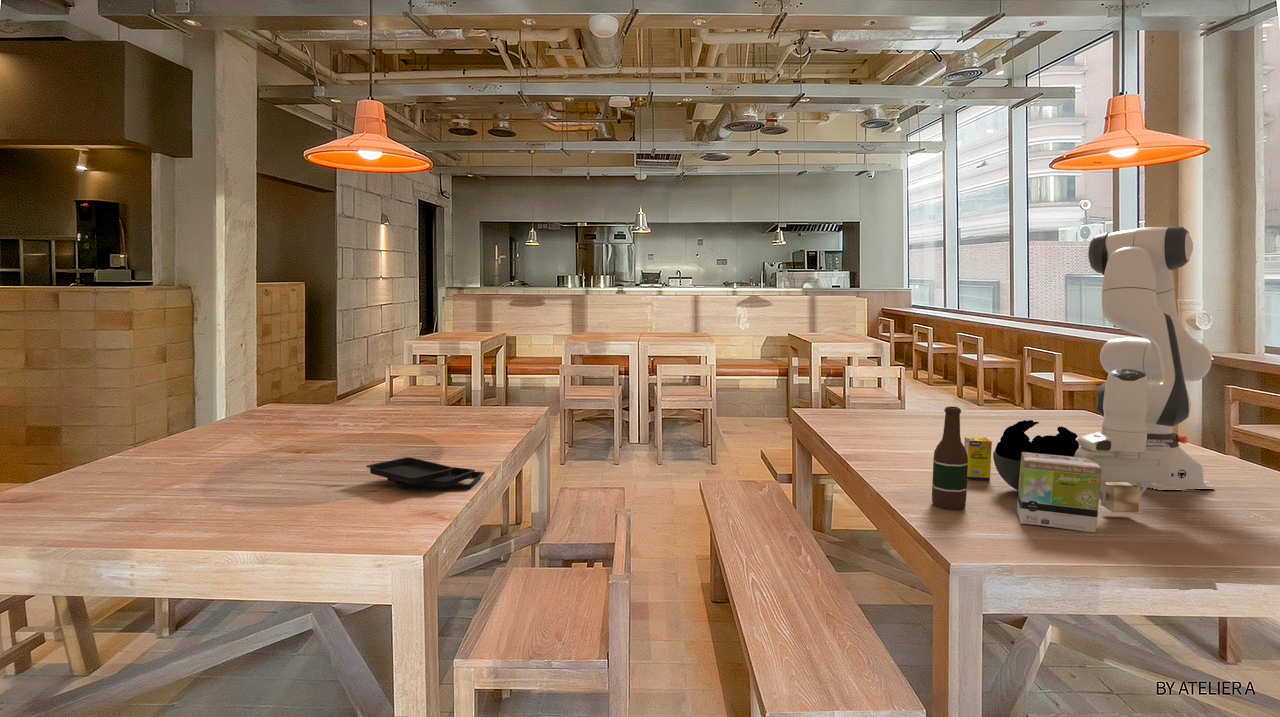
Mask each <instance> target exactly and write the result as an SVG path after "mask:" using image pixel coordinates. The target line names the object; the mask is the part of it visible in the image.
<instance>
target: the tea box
mask: <svg viewBox="0 0 1280 717" xmlns="http://www.w3.org/2000/svg"><path fill="white" fill-rule="evenodd" d="M1100 480H1101V468H1100V466H1099V465H1098V464H1097V462H1096V461H1095V459H1091V458H1080V457H1069V456H1059V455H1048V454H1037V453H1027V452H1022V454H1021V464H1020V477H1019V491H1018V490H1017V493H1018V494H1017V508H1016V512H1017V516H1018V519H1019V523H1020V525H1031V526H1040V527H1041V526H1042V527H1048V528H1049V527H1050V528H1056V529H1064V530H1071V531H1079V532H1084V533H1090V532H1095V533H1096V531H1097V525H1098V514H1099V503H1100V502H1099V501H1100V499H1099V491H1100Z"/></svg>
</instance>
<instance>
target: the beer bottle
mask: <svg viewBox="0 0 1280 717" xmlns="http://www.w3.org/2000/svg"><path fill="white" fill-rule="evenodd" d="M944 412H945V416H944V424H943V432H942V438H941V440H939V443H937V445H936V448H935V450H934V453H933V458H932V459H933V461H932V462H933V465H932V484H931V487H932V488H931V502H932V505H933V504H934V505H933V506H934V507H935V506H936V507H935V508H938V507H939V509H941V508H943V509H942V510H945V509H948V510H947V511H949V509H950V511H960V510H963V508H964V509H965V508H966V507H967V506H966V505H967V490H968V479H967V472H968V455H967V452H966V449H965V447H964V444H963V442H962V438H961V413H962V410H961V408H960V407H959V406H946V407H944ZM959 509H960V510H959Z"/></svg>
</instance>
